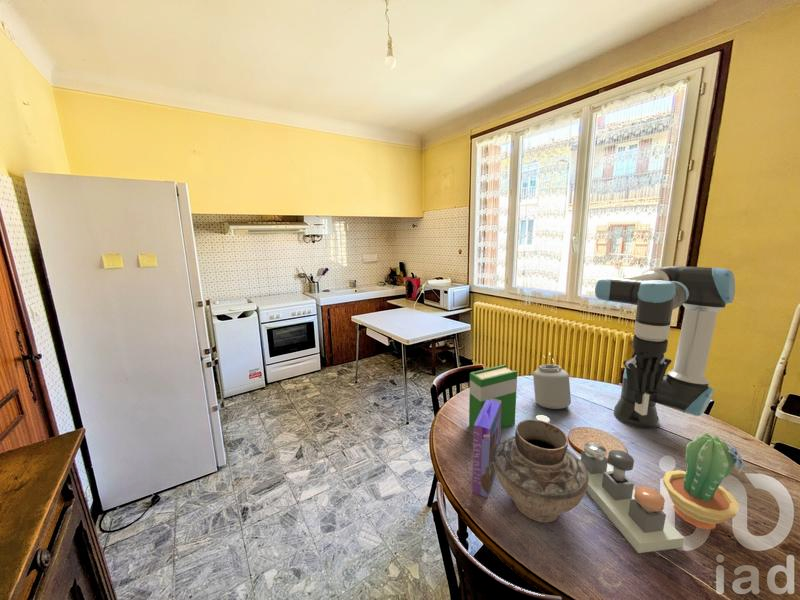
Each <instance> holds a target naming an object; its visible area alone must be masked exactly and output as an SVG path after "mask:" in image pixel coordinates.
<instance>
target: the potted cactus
mask: <svg viewBox="0 0 800 600" xmlns="http://www.w3.org/2000/svg"><path fill="white" fill-rule="evenodd" d="M684 458H685V462H686V465H687V467H686V471H685V470H680V469H679V470H678V469H676V470H670V471H666V472H665V475H664V476H663V478H662V482H663V486H664V487H665V490H666V491H667V493H668V495H669V498H670V499H671V502H672V503H673V506H672V508H673V509H674V512H675V513H676V514H677V516H679V517H680V518H681V519H682V520H683V521H685V522H686V523H689V524H691V525H692V526H694V527H696V528H700V529H704V530H707V531H708V530H713V529H716V526H717V524H721V523H724V522H726V521H727V520H728V519H730V518H735V516H737V514H738V512H739V508H740V503H739V502H738V501H737V500H736V498H735V497H734V496H733V494H732V493H731V492H730V491H729V490H727V489H725V488H724V487H723V486H721V484H722V482H723V480H724V479H725V478H727V477H728V476H729V475H730V474H731V473H732V472H733V469H734V466H735V468H739V469H738V473H739V474H741V472H742V470H743V468H744V467H745V465H746V464H745V462H744V460H743V458H742V456H741V454H740V453H739V451H738V449H737V447H735V446H733V445H731V444H729V443H726V442H725V440H720V437H719V436H717V435H711V434H709V433H704V434H702V435H701V434H700V435H699V436H697V437H696V438H695V439H692V440H691V441H690V442H688V443H687V444H686V449H685V457H684Z"/></svg>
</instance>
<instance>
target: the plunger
mask: <svg viewBox="0 0 800 600" xmlns="http://www.w3.org/2000/svg"><path fill="white" fill-rule="evenodd" d="M583 449H584V453H585V454H586V455H587V456H588V457H590V458H592V459H595V460H604V459H605V458H607V449H606V447H604V446H603V445H601V444H599V443H597V442H593V441H592V442H591V441H589V442H585V443H584V447H583Z"/></svg>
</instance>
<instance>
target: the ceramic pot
mask: <svg viewBox="0 0 800 600" xmlns="http://www.w3.org/2000/svg"><path fill="white" fill-rule="evenodd" d="M568 446H569V438H568V436H567V434H566V433H565V432H564V431H563V430H562V428H559V426H556V425H554V424H552V423H551V422H550V423H548V422H545V421H541V420H536V419H525V420H522V421H520V422H518V423H517V424H516V427H515V434H514V436H510V437H507V438H505V439H503V440H501V441H500V443H499V444H498V445H497V446H496V448H495V450H494V454H493V460H494V467H495V471H496V474H495V475H496V477H497V479H498V481H499V482H498V483H500V485H501V487H502V489H503V490H504V492H505V493H506V494H507V495H508V497H510V499H512V500H513V502H514V505H515V507H516V508H517V510H518V511H519V512H520V513H521V514H523V515H524V516H525V517H527V518H529V519H531V520H534V521H535V522H538V523H551V522H553V521H554V522H555V520H557V519H558V517H559V516H560V515H563V514H564V513H568V512H570V511H571V510H573V509H574V508H575V507H577V506H578V505H579V503H580V502H581V501H582V500H583V498H584V497H585V496H586V495H585V494H586V492H587V491H586V490H587V486H588V480H589V477H588V472H587V470H586V467H585V466H584V464H583V462H582V461H581V460H580V459H579V458H578V456H577V455H576V454H575V453H574V452H573V451H571V450H570V449H569V448H568Z"/></svg>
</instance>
